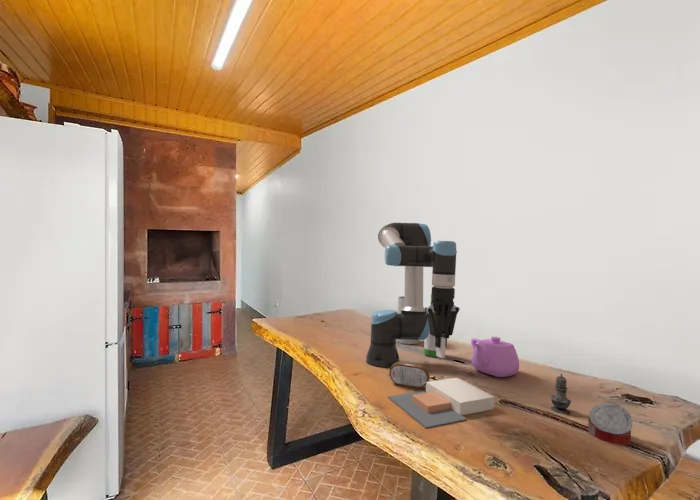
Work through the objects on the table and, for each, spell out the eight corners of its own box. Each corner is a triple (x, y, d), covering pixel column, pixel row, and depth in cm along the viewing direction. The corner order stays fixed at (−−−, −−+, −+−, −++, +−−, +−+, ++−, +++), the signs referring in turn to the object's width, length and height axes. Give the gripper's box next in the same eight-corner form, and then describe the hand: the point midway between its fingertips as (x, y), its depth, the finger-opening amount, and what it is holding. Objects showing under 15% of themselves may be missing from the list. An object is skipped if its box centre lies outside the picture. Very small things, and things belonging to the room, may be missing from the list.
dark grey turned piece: (570, 416, 110) (572, 378, 111) (549, 411, 114) (550, 374, 114) (570, 409, 115) (571, 373, 116) (550, 404, 119) (551, 369, 119)
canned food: (630, 457, 97) (650, 434, 92) (597, 454, 96) (616, 431, 91) (604, 421, 107) (621, 399, 102) (573, 417, 106) (589, 395, 101)
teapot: (481, 361, 165) (483, 329, 165) (524, 375, 147) (526, 339, 147) (449, 368, 152) (450, 334, 152) (492, 385, 135) (493, 346, 135)
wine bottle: (439, 353, 175) (441, 294, 175) (440, 358, 167) (442, 296, 167) (423, 352, 176) (425, 293, 176) (424, 356, 169) (426, 295, 169)
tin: (429, 387, 130) (430, 365, 130) (428, 390, 127) (429, 367, 127) (390, 381, 135) (390, 359, 135) (388, 384, 132) (389, 362, 132)
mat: (387, 397, 120) (387, 396, 120) (424, 392, 126) (424, 390, 126) (425, 428, 99) (425, 427, 99) (466, 420, 105) (466, 418, 105)
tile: (411, 401, 117) (411, 395, 117) (433, 397, 120) (433, 391, 120) (427, 412, 108) (427, 406, 108) (450, 408, 112) (450, 402, 112)
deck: (425, 393, 125) (426, 382, 125) (456, 388, 130) (456, 377, 130) (460, 415, 108) (460, 402, 108) (493, 409, 114) (494, 396, 114)
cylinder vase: (405, 338, 204) (407, 295, 204) (423, 342, 195) (425, 298, 195) (392, 341, 196) (393, 297, 196) (409, 346, 187) (411, 299, 187)
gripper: (434, 288, 110) (431, 362, 110) (466, 287, 115) (463, 358, 115) (420, 285, 117) (417, 355, 117) (451, 285, 122) (448, 351, 122)
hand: (440, 356), depth 116 cm, fingers closed
